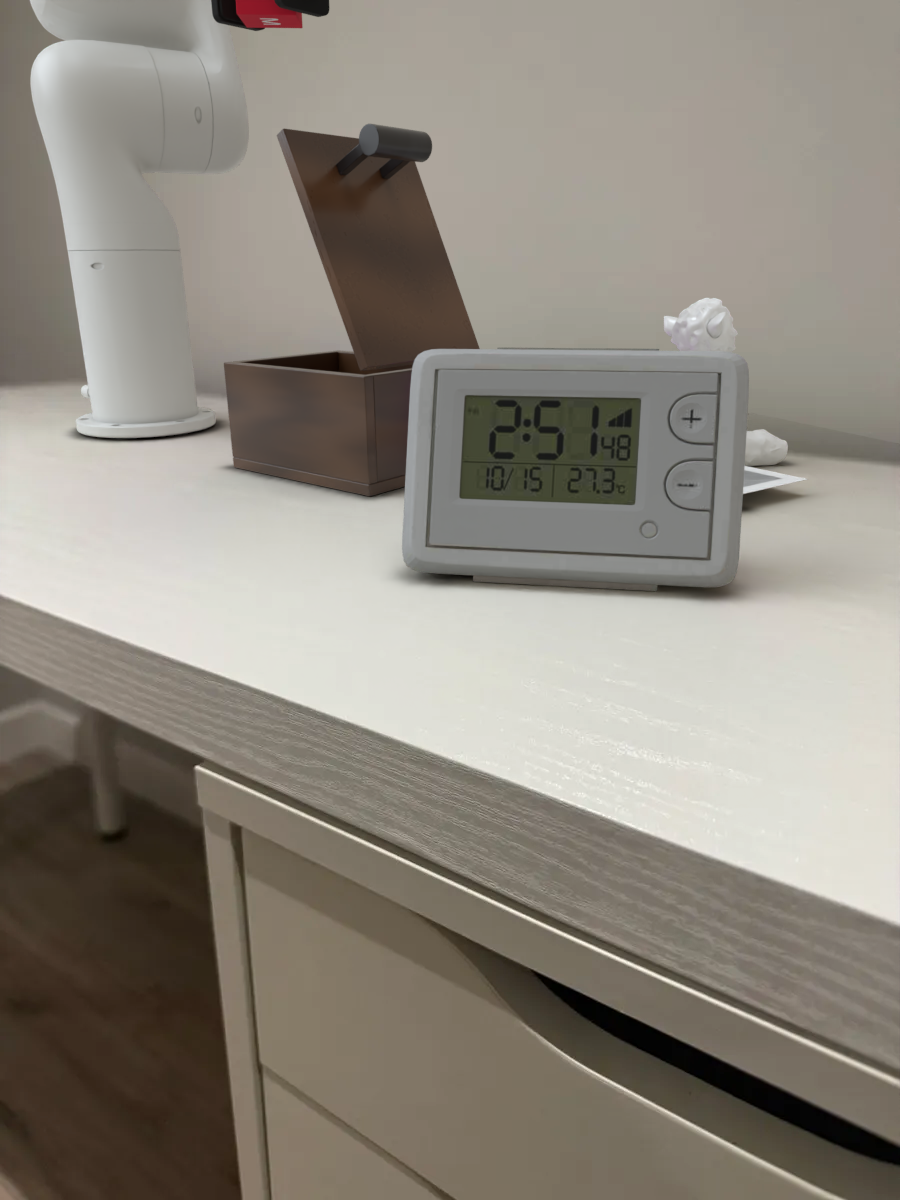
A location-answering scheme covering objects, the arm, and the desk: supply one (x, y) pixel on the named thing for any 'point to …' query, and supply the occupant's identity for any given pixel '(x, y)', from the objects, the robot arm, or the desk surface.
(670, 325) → the seated beast figurine
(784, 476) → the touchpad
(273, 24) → the red letter cube
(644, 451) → the digital clock
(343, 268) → the lid
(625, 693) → the desk surface
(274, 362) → the chest
